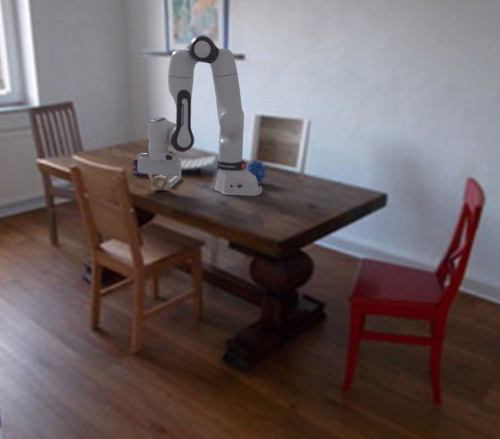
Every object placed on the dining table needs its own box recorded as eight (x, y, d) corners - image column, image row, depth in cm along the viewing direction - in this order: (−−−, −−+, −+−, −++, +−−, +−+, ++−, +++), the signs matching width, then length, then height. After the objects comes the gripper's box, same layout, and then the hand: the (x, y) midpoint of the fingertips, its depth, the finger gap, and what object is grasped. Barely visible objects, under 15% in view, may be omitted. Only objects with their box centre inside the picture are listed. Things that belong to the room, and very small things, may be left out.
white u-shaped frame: (181, 178, 275) (181, 173, 274) (170, 187, 260) (170, 181, 259) (164, 177, 276) (164, 171, 275) (153, 186, 261) (153, 180, 260)
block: (166, 185, 257) (166, 176, 256) (161, 190, 251) (161, 180, 249) (156, 185, 258) (156, 175, 256) (151, 189, 251) (150, 179, 250)
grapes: (251, 187, 265) (252, 163, 261) (243, 184, 270) (244, 160, 266) (270, 184, 272) (271, 160, 268) (261, 181, 277) (263, 157, 273)
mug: (130, 173, 280) (130, 160, 277) (146, 170, 286) (146, 157, 284) (138, 176, 275) (137, 163, 273) (154, 173, 282) (154, 160, 280)
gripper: (134, 154, 249) (135, 183, 254) (178, 157, 246) (178, 187, 250) (139, 151, 255) (140, 179, 259) (182, 153, 251) (182, 183, 256)
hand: (159, 183), depth 255 cm, fingers closed on block, 5 cm apart
